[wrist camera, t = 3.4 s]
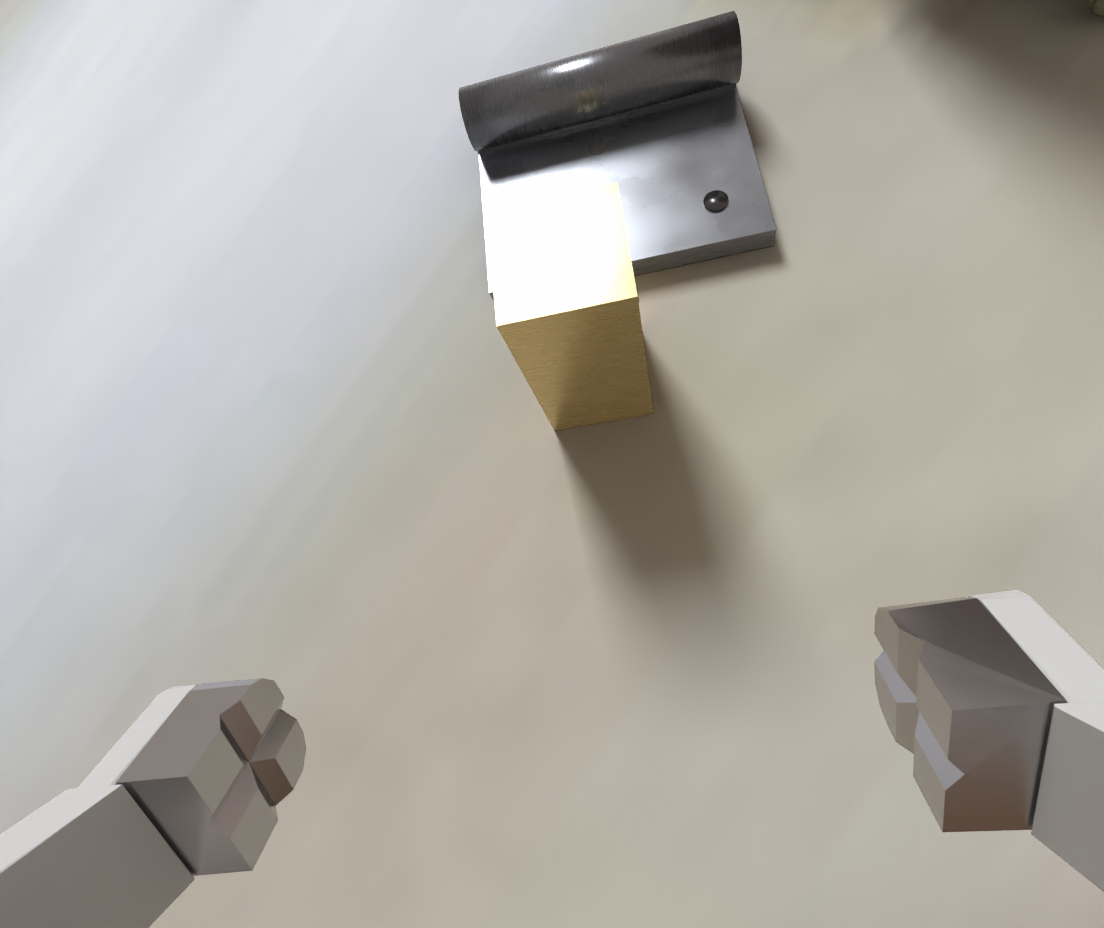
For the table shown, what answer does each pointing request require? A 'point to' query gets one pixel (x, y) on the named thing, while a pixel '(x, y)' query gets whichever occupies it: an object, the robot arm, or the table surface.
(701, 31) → the fixed leaf
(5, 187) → the table surface
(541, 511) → the table surface
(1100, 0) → the tabletop clock
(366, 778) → the table surface
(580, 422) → the tan wooden block
